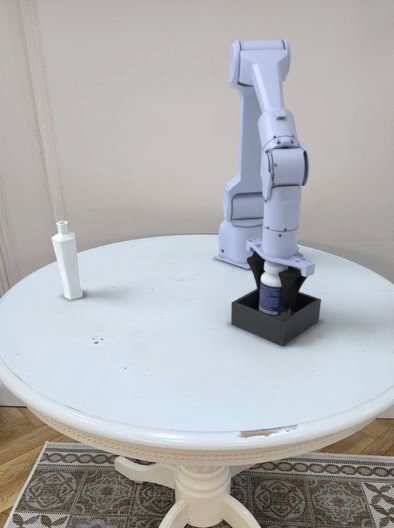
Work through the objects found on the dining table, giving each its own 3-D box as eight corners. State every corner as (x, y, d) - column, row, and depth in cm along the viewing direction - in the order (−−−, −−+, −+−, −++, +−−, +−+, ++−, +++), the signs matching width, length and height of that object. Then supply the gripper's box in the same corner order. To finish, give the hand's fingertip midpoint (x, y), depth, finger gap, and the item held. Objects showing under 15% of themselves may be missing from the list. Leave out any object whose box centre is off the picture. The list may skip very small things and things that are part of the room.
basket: (231, 324, 95) (231, 302, 93) (268, 302, 102) (269, 281, 100) (282, 346, 89) (284, 322, 87) (318, 321, 96) (321, 299, 93)
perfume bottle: (90, 294, 107) (80, 221, 99) (72, 302, 104) (60, 228, 96) (76, 287, 110) (65, 216, 102) (58, 295, 107) (45, 222, 99)
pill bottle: (286, 324, 92) (290, 271, 87) (254, 319, 94) (256, 267, 89) (294, 309, 97) (298, 258, 91) (263, 304, 99) (266, 254, 93)
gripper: (331, 232, 84) (322, 308, 91) (268, 209, 94) (264, 280, 101) (299, 242, 80) (292, 321, 87) (237, 218, 90) (236, 290, 97)
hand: (275, 300), depth 94 cm, fingers closed on pill bottle, 6 cm apart
